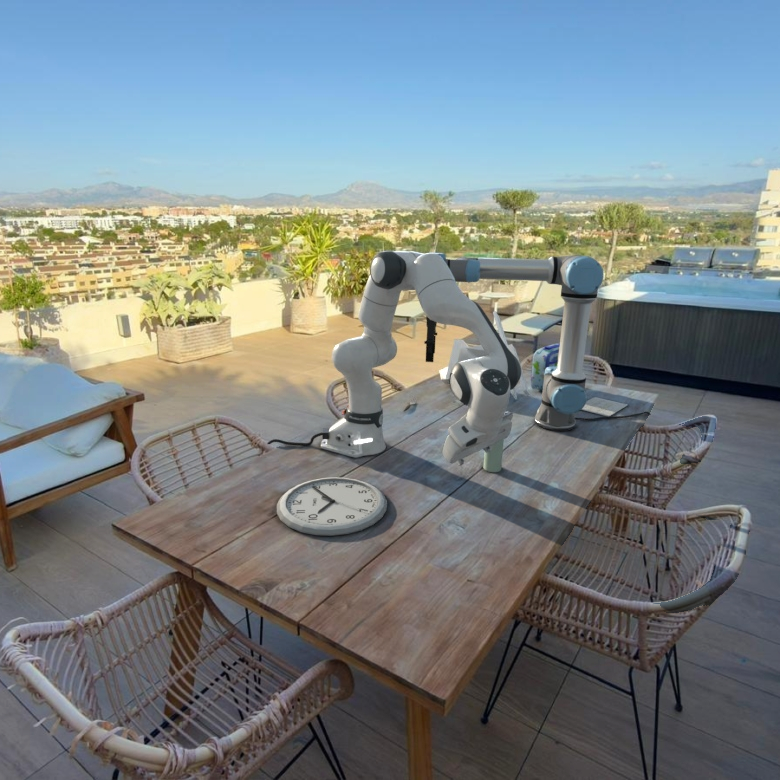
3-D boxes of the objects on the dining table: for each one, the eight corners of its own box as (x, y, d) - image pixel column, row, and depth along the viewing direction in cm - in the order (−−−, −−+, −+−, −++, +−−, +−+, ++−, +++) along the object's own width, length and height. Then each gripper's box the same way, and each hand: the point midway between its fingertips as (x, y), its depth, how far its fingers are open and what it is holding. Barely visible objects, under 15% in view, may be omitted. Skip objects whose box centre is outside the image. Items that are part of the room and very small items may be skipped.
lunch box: (547, 395, 239) (552, 351, 233) (526, 390, 247) (530, 347, 240) (574, 384, 257) (579, 343, 251) (554, 380, 264) (558, 339, 258)
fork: (400, 412, 215) (400, 407, 215) (412, 400, 229) (412, 396, 229) (406, 412, 214) (406, 408, 214) (418, 401, 229) (418, 397, 228)
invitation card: (608, 416, 214) (573, 407, 224) (608, 416, 214) (573, 408, 224) (628, 404, 229) (594, 396, 238) (628, 405, 229) (594, 397, 238)
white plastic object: (461, 429, 252) (437, 405, 227) (444, 352, 274) (420, 323, 250) (535, 404, 240) (518, 377, 215) (510, 326, 262) (492, 293, 237)
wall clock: (392, 527, 129) (268, 531, 127) (391, 533, 130) (269, 537, 127) (383, 473, 158) (282, 475, 155) (383, 478, 158) (282, 480, 156)
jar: (502, 472, 164) (507, 422, 159) (484, 472, 164) (488, 421, 159) (499, 464, 169) (503, 415, 164) (482, 464, 169) (485, 415, 164)
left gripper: (506, 401, 139) (495, 434, 148) (443, 429, 131) (436, 462, 140) (521, 417, 135) (509, 450, 145) (457, 447, 127) (449, 479, 137)
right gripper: (424, 293, 195) (422, 349, 202) (419, 302, 172) (417, 365, 178) (444, 294, 195) (441, 350, 201) (442, 303, 171) (439, 366, 177)
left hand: (473, 456), depth 143 cm, fingers open, 8 cm apart
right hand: (430, 357), depth 190 cm, fingers open, 13 cm apart
